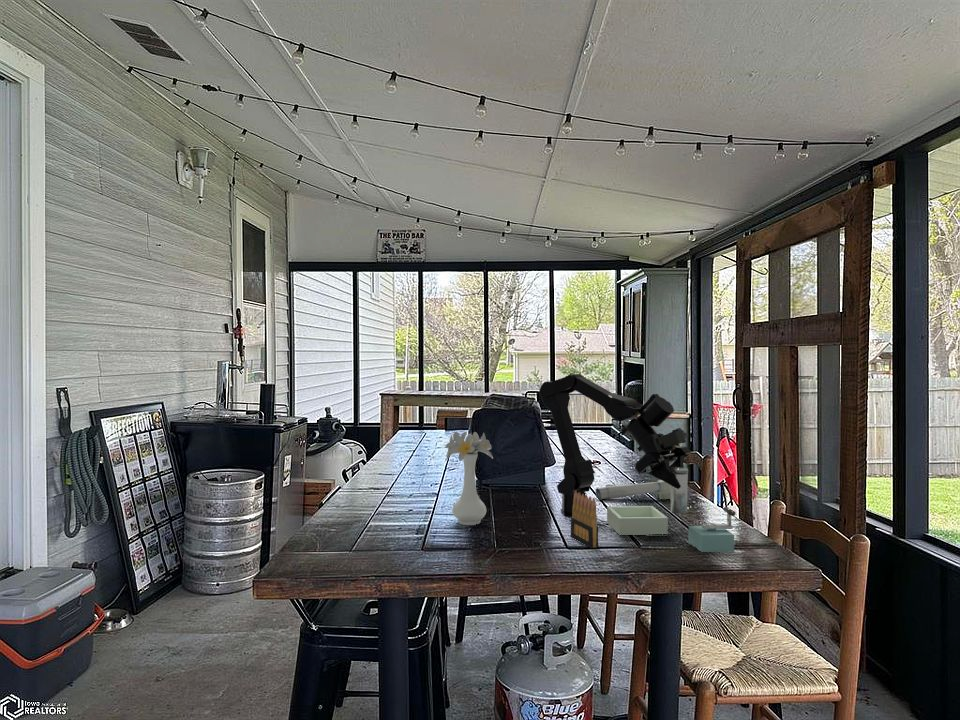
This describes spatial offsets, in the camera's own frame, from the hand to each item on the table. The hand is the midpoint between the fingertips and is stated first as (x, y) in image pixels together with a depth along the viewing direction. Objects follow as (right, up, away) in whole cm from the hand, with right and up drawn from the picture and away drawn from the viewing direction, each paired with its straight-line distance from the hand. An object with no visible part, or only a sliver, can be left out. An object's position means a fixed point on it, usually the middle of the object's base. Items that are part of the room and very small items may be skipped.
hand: (684, 486), depth 170 cm
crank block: (+5, -14, -6) cm, 15 cm away
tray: (-10, -13, +10) cm, 19 cm away
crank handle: (+6, -9, -6) cm, 13 cm away
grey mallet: (-2, -13, +45) cm, 47 cm away
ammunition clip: (-25, -14, -3) cm, 29 cm away
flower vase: (-55, -13, +16) cm, 58 cm away
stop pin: (-1, -7, +1) cm, 7 cm away
